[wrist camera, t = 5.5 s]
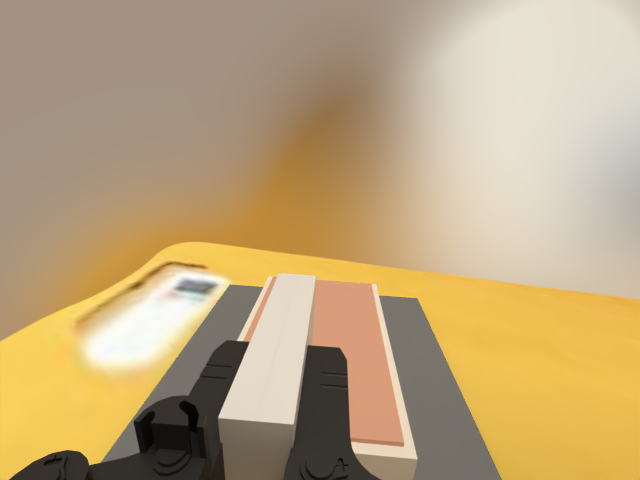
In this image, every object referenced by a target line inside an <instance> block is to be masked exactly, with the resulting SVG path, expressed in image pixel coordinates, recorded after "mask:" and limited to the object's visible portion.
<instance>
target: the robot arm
mask: <svg viewBox="0 0 640 480" xmlns="http://www.w3.org/2000/svg"><path fill="white" fill-rule="evenodd" d="M315 290H316V276H313V275H299V274H284V273H279V274H278V276H277V279H276V281H275V284H274V286H273V288H272V291H271V293H270V295H269V298H268V300H267V303H266V305H265V307H264V310H263V312H262V314H261V317H260V319H259V322H258V324H257V326H256V329H255V331H254V334H253V336H252V338H251V341H250V342H246V341H232V340H226V341H225V342H224V343H223V344H221V345H220V346H219V347H218V348H216V349H215V350H214V351H213V353H212V355H211V356H210V358H209V360H208V362H207V363H206V367H204V369H203V370H202V372H201V374H200V377H199V379H197V381H196V383H195V384H194V386H193V388H192V390H191V392H190V393H189V395H188V396H186V395H181V396H171V397H168V398H165V399H162V400H160V401H157V402H155V403H154V404H152V405H151V406H149V407H148V408H146V409H145V410H143V412H142V413H141V414H140V415H139V416H138V417H137V418H136V419H135V420H134V421H133V422H134V427H135V432H136V436H137V441H138V446H139V450H140V452H139V453H137V454H134V455H131V456H127V457H124V458H120V459H116V460H111V461H107V462H102V463H98V464H94V465H89V463H88V460H87V458H86V457H85V456H84V455H83V454H82V453H81V452H78V451H70V450H66V451H61V452H56V453H52V454H49V455H47V456H45V457H43V458H41V459H39V460H36V461H34V462H32V463H31V464H30V465H28V466H27V467H25V468H24V469H23V470H21V471H20V472H18V473H17V474H15V475H14V476H13V477H12V478H11V479H9V480H381V479H379V478H378V477H376V476H374V475H372V474H371V473H370V472H369V471H367V470H366V469H365V468H364V467H363V466H362V465H361V463H360V462H359V460H358V459H357V458H356V456H355V454H354V451H353V449H352V445H351V439H350V417H349V393H348V368H347V359H346V357H345V355H344V354H343V352H342V350H341V349H340V348H339V347H326V346H313V345H312V341H313V332H314V311H315Z"/></svg>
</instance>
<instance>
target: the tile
mask: <svg viewBox="0 0 640 480" xmlns="http://www.w3.org/2000/svg"><path fill="white" fill-rule="evenodd" d="M276 279H277V277H268V279H267V281H266V283H265V285H264V287H263V289H262V291H261V293H260V295H259V297H258V299H257V301H256V303H255V305H254V307H253V309H252V311H251V313H250V315H249V317H248V320H247V322H246V324H245V326H244V328H243V330H242V332H241V334H240V336H239V338H238V340H237V341H246V342H250V341H251V338H252V336H253V334H254V331H255V329H256V326H257V324H258V322H259V319H260V317H261V314H262V312H263V310H264V307H265V305H266V303H267V300H268V298H269V295H270V293H271V291H272V288H273V286H274V284H275V281H276ZM312 345H313V346H326V347H339V348H340V349H341V350H342V352H343V354H344V355H345V357H346V359H347V368H348V393H349V417H350V439H351V445H352V449H353V451H354V454H355V456H356V458H357V459H358V460H359V462H360V463H361V465H362V466H363V467H364V468H365V469H366V470H367V471H369V472H370V473H371V474H372V475H374V476H376V477H378V478H379V479H381V480H413V478H414V473H415V469H416V464H417V460H418V459H417V455H416V450H415V446H414V442H413V438H412V433H411V429H410V425H409V421H408V417H407V412H406V408H405V404H404V400H403V396H402V391H401V387H400V383H399V379H398V374H397V370H396V366H395V362H394V358H393V353H392V349H391V345H390V341H389V337H388V332H387V328H386V324H385V320H384V315H383V311H382V307H381V303H380V299H379V294H378V290H377V286H376V284H366V283H353V282H339V281H325V280H316V290H315V311H314V332H313V341H312Z"/></svg>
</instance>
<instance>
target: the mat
mask: <svg viewBox="0 0 640 480" xmlns="http://www.w3.org/2000/svg"><path fill="white" fill-rule="evenodd" d="M262 289H263V287H255V286H241V285H229V287H228V288H227V289H226V291H225V292H224V294H223V295H222V296H221V298H220V299H219V300H218V302H217V303H216V305H215V306H214V307H213V309H212V310H211V311H210V313H209V314H208V316H207V317H206V318H205V320H204V321H203V323H202V324H201V325H200V327H199V328H198V329H197V331H196V332H195V334H194V335H193V336H192V338H191V339H190V340H189V342H188V343H187V345H186V346H185V347H184V349H183V350H182V351H181V353H180V354H179V356H178V357H177V358H176V360H175V361H174V362H173V364H172V365H171V367H170V368H169V369H168V371H167V372H166V374H165V375H164V376H163V378H162V379H161V380H160V382H159V383H158V385H157V386H156V387H155V389H154V390H153V391H152V393H151V394H150V396H149V397H148V398H147V400H146V401H145V402H144V404H143V405H142V407H141V408H140V409H139V411H138V412H137V413H136V415H135V416H134V418H133V419H132V420H131V422H130V423H129V424H128V426H127V427H126V429H125V430H124V431H123V433H122V434H121V436H120V437H119V438H118V440H117V441H116V442H115V444H114V445H113V447H112V448H111V449H110V451H109V452H108V453H107V455H106V456H105V458H104V459H103V460H102V462H107V461H111V460H116V459H120V458H124V457H127V456H131V455H134V454H137V453H139V452H140V450H139V446H138V441H137V436H136V432H135V427H134V422H133V421H134V420H135V419H136V418H137V417H138V416H139V415H140V414H141V413H142V412H143V410H145V409H146V408H148V407H149V406H151V405H152V404H154V403H155V402H157V401H160V400H162V399H165V398H168V397H171V396H181V395H186V396H188V395H189V393H190V392H191V390H192V388H193V386H194V384H195V383H196V381H197V379H199V377H200V374H201V372H202V370H203V369H204V367H206V363H207V362H208V360H209V358H210V356H211V355H212V353H213V351H214V350H215V349H216V348H218V347H219V346H220V345H221V344H223V343H224V342H225V341H226V340H232V341H237V340H238V338H239V336H240V334H241V332H242V330H243V328H244V326H245V324H246V322H247V320H248V317H249V315H250V313H251V311H252V309H253V307H254V305H255V303H256V301H257V299H258V297H259V295H260V293H261V291H262ZM379 299H380V303H381V307H382V311H383V315H384V320H385V324H386V328H387V332H388V337H389V341H390V345H391V349H392V353H393V358H394V362H395V366H396V370H397V374H398V379H399V383H400V387H401V391H402V396H403V400H404V404H405V408H406V412H407V417H408V421H409V425H410V429H411V433H412V438H413V442H414V446H415V450H416V455H417V459H418V460H417V464H416V469H415V473H414V478H413V480H502V479H501V477H500V475H499V473H498V471H497V469H496V466H495V464H494V462H493V460H492V458H491V456H490V453H489V451H488V449H487V447H486V445H485V443H484V441H483V438H482V436H481V434H480V432H479V430H478V428H477V426H476V423H475V421H474V419H473V417H472V415H471V413H470V411H469V408H468V406H467V404H466V402H465V400H464V398H463V395H462V393H461V391H460V389H459V387H458V385H457V383H456V380H455V378H454V376H453V374H452V372H451V370H450V368H449V365H448V363H447V361H446V359H445V357H444V355H443V353H442V350H441V348H440V346H439V344H438V342H437V340H436V337H435V335H434V333H433V331H432V329H431V327H430V325H429V322H428V320H427V318H426V316H425V314H424V312H423V310H422V307H421V305H420V303H419V301H418V299H417V298H405V297H391V296H379ZM102 462H101V463H102Z"/></svg>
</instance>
